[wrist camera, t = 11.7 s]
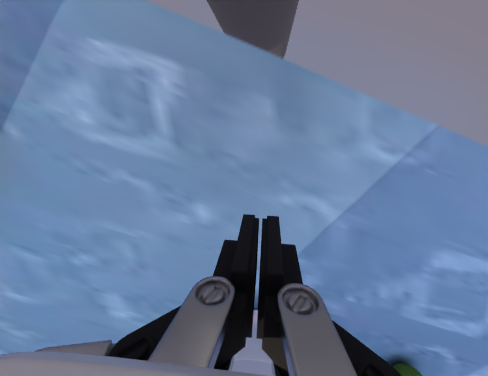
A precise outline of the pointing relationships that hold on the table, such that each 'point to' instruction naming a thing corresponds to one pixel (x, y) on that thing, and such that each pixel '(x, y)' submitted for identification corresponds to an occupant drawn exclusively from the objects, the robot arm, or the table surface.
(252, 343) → the jar
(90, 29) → the table surface
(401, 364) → the pickle
